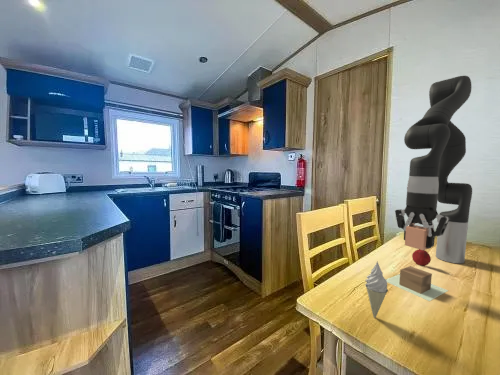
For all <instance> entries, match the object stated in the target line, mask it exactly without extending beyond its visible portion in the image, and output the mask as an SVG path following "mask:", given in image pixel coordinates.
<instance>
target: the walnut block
mask: <svg viewBox="0 0 500 375" xmlns="http://www.w3.org/2000/svg"><path fill="white" fill-rule="evenodd" d="M399 274H400V282H399V285H401V286H404V287H406V288H408V289H411V290H413V291H415V292H417V293H420V294H422V293H424V292H426V291H428V290H430V289H431V284H432V279H433V278H432V276H433V273H431V272H429V271H426V270H422V269H420V268H417V267H415V266H412V265H410V266H407V267H404V268H402V269H400V270H399Z"/></svg>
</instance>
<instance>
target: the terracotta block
mask: <svg viewBox="0 0 500 375" xmlns="http://www.w3.org/2000/svg"><path fill="white" fill-rule="evenodd" d="M426 237H427V230H425V229H424V227H423V225H422V226H421V225H416V224H415V225H413V226H407V227H406V235H405V240H404V246H405V247H410V248H413V249H416V250H418V249H420V250H425V251H427V250H428V248H426Z"/></svg>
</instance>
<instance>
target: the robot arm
mask: <svg viewBox="0 0 500 375" xmlns="http://www.w3.org/2000/svg"><path fill="white" fill-rule="evenodd" d="M471 93H472V80H471V78H470V76H468V75H460V76H456V77H451V78H447V79H443V80H440V81H436V82H433V83H432V84H431V85H430V88H429V93H428V95H429V104H430V106H429V108H428V110H427V111H426V112H425V113H424V114H423V117H422V118H421V119H419V120H418V121H416V122H415V123H414V124H412V125H411V126H410V127H409V128H408V129H407V131H406V132H405V133H404V140H403V141H404V145H405V146H406V147H407V148H408V149H410V150H425V149H426V150H428V149H430V151H429V152H428V153H427V154H425V155H421V156H417V157H413V158H411V159H410V162H409V174H408V180H407V186H406V200H405V202H406V203H405V205H406V206H405V208H404V209H399V208H398V209H396V210H394V212H395V213H394V214H395V220H396V223H397V227H398V228H399V229H402V230H403V240H404V241H405V235H406V227H407V226H413V225H416V224H418V225H420V226H421V225H422V227H424V229H425V230H427V237H426V248H428V249H432V248H433V247H434V245H435V238H437V239H436V248H435V249H436V250H435V257H436V258H437V259H439V260H442V261H445V262H447V263H453V264H465V260H466V250H467V241H468V240H467V238H468V226H469V217H470V209H471V203H472V198H473V187H472V185H471V184H470V183H465V182H463V183H462V182H448V179H449V176H450V174H451V172H452V171H453V170H455V168H456V167H457V166H458V165H459V163H460V162H461V161H462V160H463V158H464V157H465V156H466V153H467V148H466V147H467V146H466V144H467V142H466V136H465V134H464V132H462V130H461V129H459V127H458V126H456V125H455V124H454V123H453V122H452V121H451V120H452V118H453V116H454V114H455V113H456V112H458V110H459V109H460V108H461V107H462V106H463V105H464V104H465V103H466V102H467V101H468V100H469V98H470V96H471ZM438 202H439V203H441V204H446V205H454V206H455V205H456V206H457V208H455V209H452V210H448V211H447V210H446V211H441V212H438V210H437V207H438ZM405 215H406V216H407V219H406V220H405ZM435 219H436V220H437V226H436V229H435V224H434V220H435ZM428 249H427V250H428Z"/></svg>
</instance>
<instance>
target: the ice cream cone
mask: <svg viewBox="0 0 500 375" xmlns="http://www.w3.org/2000/svg"><path fill="white" fill-rule="evenodd" d="M370 271H371V272H370V274H369V275H367V276H366V279H365V282H366V283H365V284H364V285H365V288H366V292H367V295H368V301H369V304H370V309H371V312H372V316H373V318H374V319H376V318H377V316H378V313H379V311H380V309H381V306H382V304H383V301H384V300H385V297H386V295H387V293H388V292H389V289H388V282H387V281H386V278H385V277H384V274H383V271H382V269H381V267H380V264H379V262H378V261H377V262H376V263H375V264H374V267H373V268H372V269H371V270H370Z"/></svg>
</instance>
